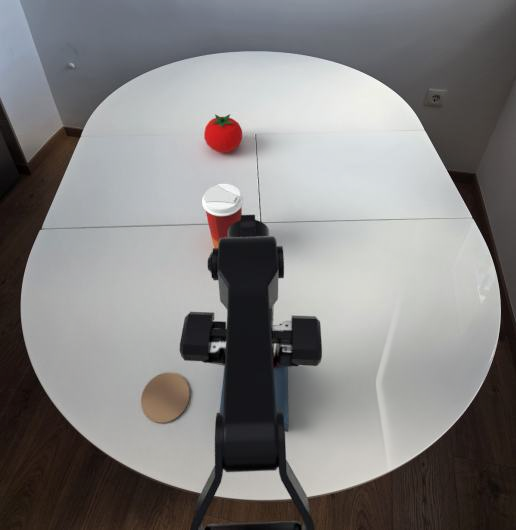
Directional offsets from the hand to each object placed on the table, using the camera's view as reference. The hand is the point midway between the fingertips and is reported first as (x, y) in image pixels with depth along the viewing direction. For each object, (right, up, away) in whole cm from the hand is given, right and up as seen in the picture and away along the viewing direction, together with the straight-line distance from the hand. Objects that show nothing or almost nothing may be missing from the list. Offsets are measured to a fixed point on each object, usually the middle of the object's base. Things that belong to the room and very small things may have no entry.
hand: (252, 364), depth 64 cm
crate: (0, -8, +8) cm, 12 cm away
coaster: (-15, -9, +8) cm, 19 cm away
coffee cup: (-6, +14, +32) cm, 35 cm away
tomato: (-9, +37, +56) cm, 68 cm away
